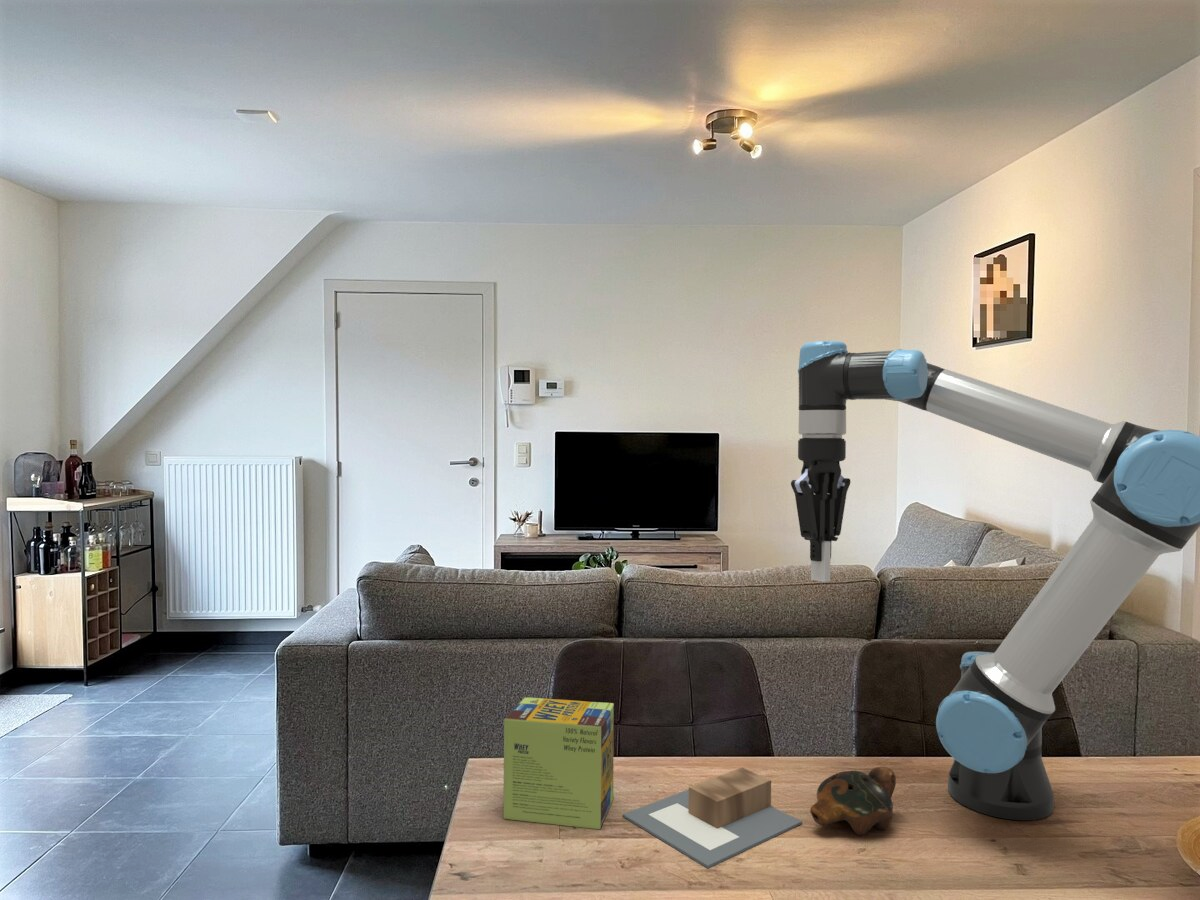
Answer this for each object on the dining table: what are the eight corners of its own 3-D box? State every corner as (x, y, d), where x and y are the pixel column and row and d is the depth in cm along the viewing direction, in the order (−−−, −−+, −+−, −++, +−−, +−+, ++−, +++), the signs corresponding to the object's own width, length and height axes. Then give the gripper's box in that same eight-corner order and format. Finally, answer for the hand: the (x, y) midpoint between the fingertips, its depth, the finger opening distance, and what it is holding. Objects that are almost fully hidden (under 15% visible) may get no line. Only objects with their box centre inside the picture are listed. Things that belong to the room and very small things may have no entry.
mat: (802, 823, 118) (802, 820, 118) (707, 868, 106) (707, 865, 106) (714, 781, 132) (714, 779, 132) (622, 816, 120) (622, 813, 120)
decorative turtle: (916, 826, 118) (917, 775, 117) (843, 859, 110) (843, 804, 110) (865, 796, 126) (865, 748, 125) (794, 825, 119) (794, 774, 118)
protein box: (602, 830, 116) (602, 726, 116) (502, 820, 119) (502, 718, 119) (615, 798, 126) (615, 702, 126) (522, 789, 129) (522, 695, 129)
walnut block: (717, 828, 116) (771, 805, 123) (717, 801, 116) (771, 780, 123) (688, 813, 120) (742, 791, 128) (688, 787, 120) (742, 767, 128)
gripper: (827, 436, 136) (825, 573, 137) (777, 436, 128) (776, 581, 129) (865, 436, 130) (863, 579, 131) (816, 436, 122) (814, 588, 123)
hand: (820, 580), depth 130 cm, fingers closed
